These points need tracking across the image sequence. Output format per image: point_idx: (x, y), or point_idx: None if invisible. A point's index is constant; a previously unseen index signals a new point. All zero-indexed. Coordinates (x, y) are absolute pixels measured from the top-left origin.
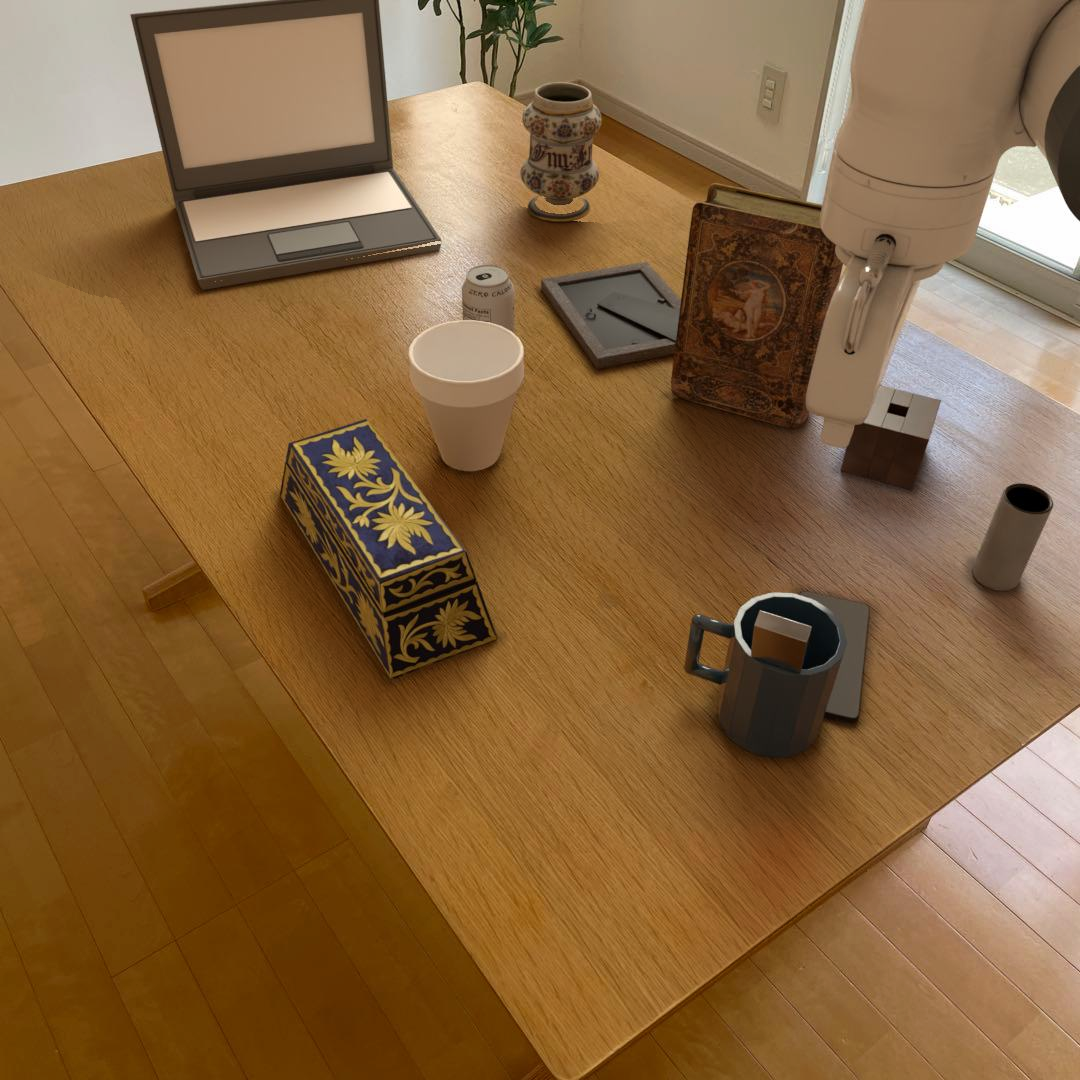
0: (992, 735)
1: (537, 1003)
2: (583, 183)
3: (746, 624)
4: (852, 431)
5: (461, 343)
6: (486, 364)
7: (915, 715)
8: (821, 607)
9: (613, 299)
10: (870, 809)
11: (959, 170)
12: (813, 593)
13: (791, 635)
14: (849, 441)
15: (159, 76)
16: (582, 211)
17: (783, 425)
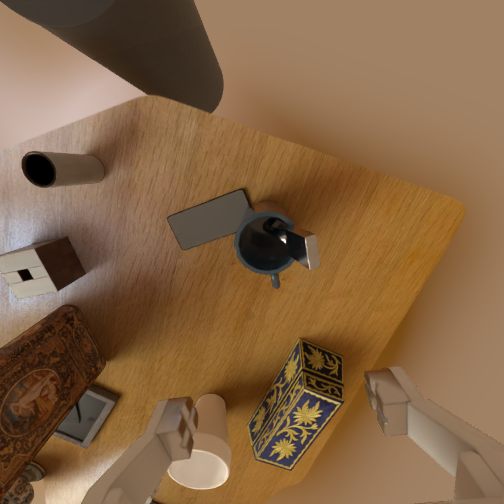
0: (203, 123)
1: (448, 231)
2: None
3: (263, 264)
4: (402, 385)
5: (184, 466)
6: None
7: (218, 165)
8: (237, 238)
9: (69, 419)
10: (287, 159)
11: None
12: (180, 244)
13: (316, 244)
14: (404, 372)
15: None
16: None
17: (80, 312)
